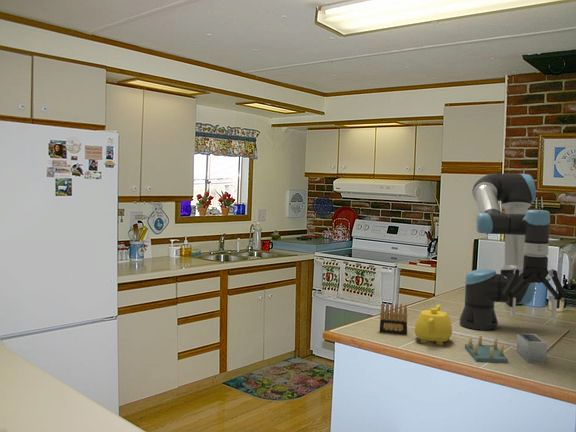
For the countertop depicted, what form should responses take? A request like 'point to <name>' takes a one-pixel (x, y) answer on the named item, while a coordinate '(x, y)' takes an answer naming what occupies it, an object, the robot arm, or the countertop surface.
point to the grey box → (531, 348)
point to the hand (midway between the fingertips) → (532, 317)
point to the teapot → (433, 326)
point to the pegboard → (486, 351)
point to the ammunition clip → (393, 320)
